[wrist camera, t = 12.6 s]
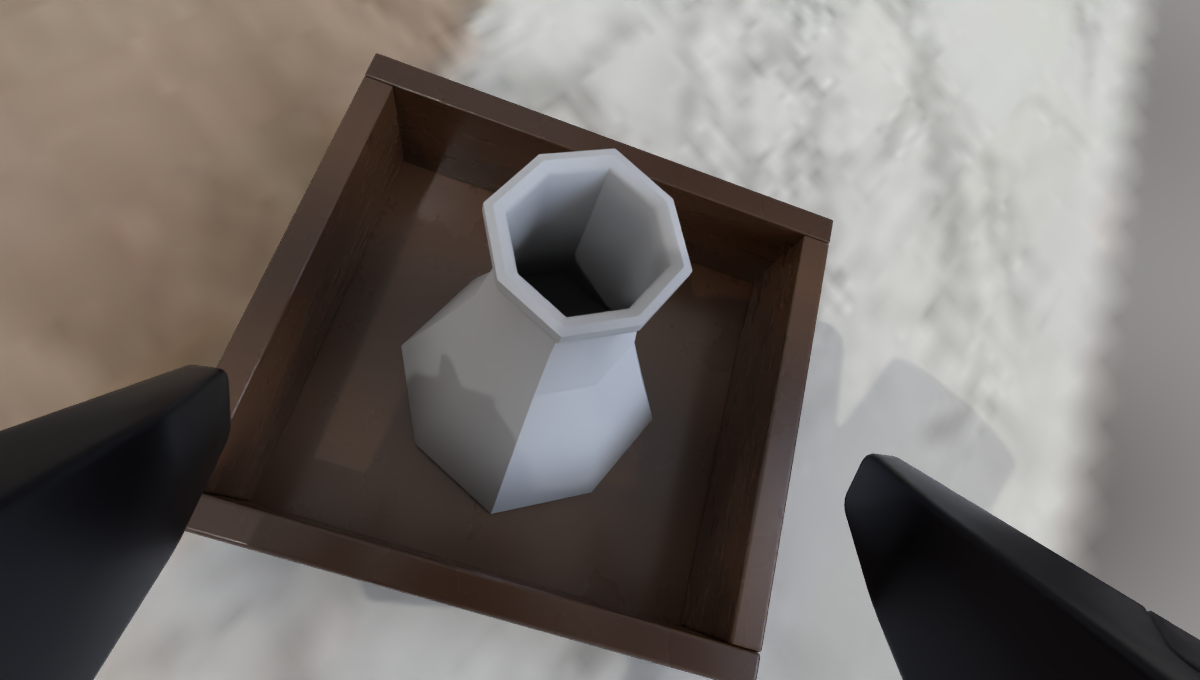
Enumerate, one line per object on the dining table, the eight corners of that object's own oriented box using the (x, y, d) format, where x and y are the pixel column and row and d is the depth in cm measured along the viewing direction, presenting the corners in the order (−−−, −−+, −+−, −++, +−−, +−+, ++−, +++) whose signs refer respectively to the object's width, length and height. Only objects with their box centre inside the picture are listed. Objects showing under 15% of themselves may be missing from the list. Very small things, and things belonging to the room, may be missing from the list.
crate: (689, 658, 19) (756, 691, 14) (217, 524, 17) (138, 518, 13) (766, 279, 23) (833, 219, 19) (392, 148, 22) (375, 51, 17)
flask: (358, 335, 19) (253, 127, 9) (572, 238, 21) (659, -7, 12) (476, 561, 18) (491, 581, 8) (689, 432, 20) (890, 333, 10)
